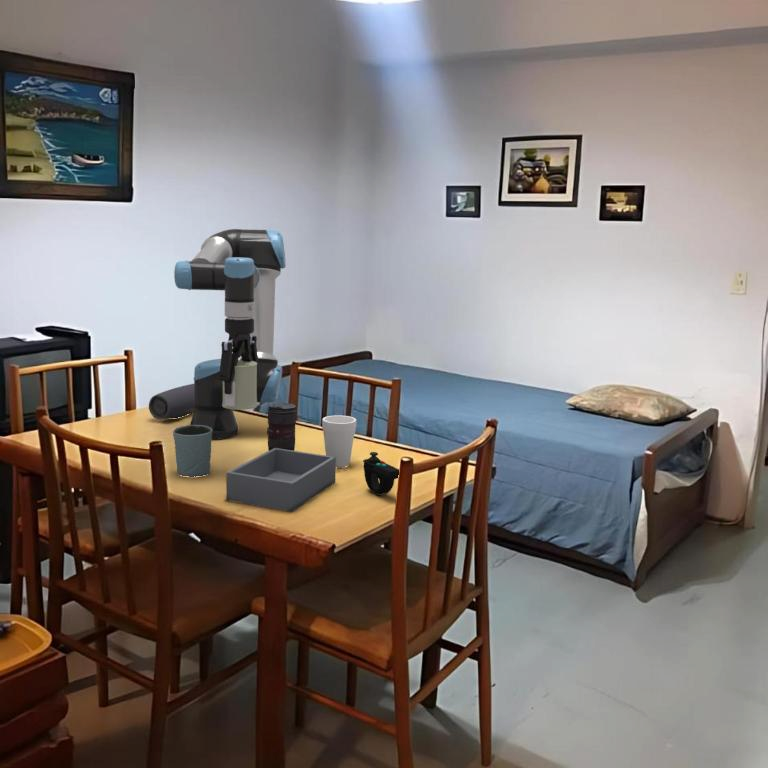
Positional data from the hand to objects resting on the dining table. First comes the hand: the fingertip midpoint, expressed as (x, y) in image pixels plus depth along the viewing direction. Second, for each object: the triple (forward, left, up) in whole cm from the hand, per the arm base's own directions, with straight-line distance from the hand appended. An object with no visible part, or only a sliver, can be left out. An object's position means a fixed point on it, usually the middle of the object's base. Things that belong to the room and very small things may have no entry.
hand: (239, 402), depth 218 cm
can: (0, 0, -1) cm, 1 cm away
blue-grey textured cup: (+7, -10, -19) cm, 23 cm away
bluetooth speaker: (-43, -49, -19) cm, 68 cm away
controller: (0, +41, -19) cm, 45 cm away
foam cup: (-18, +21, -19) cm, 34 cm away
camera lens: (-18, +3, -19) cm, 27 cm away
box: (+9, +18, -19) cm, 28 cm away
